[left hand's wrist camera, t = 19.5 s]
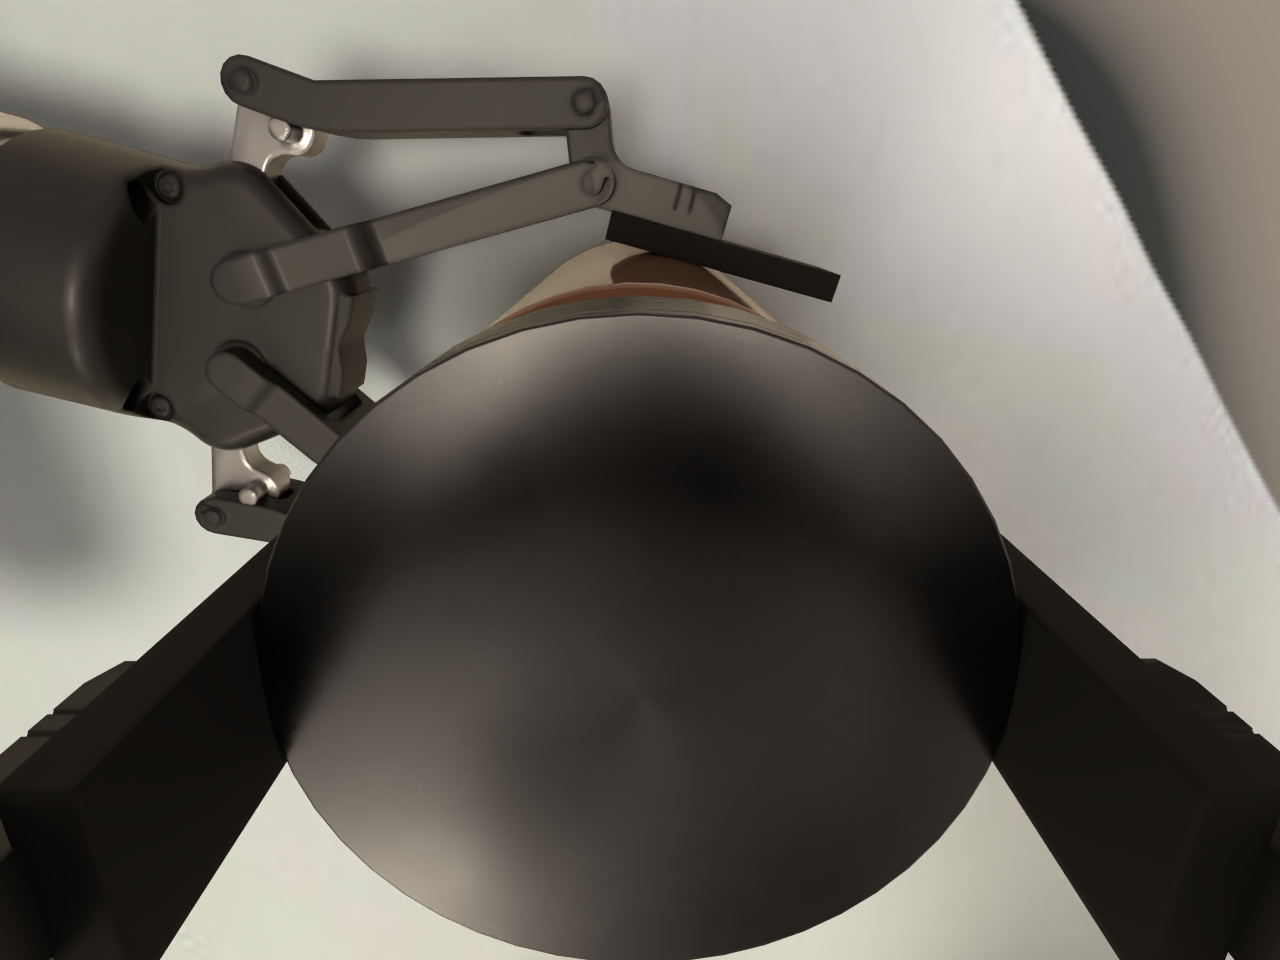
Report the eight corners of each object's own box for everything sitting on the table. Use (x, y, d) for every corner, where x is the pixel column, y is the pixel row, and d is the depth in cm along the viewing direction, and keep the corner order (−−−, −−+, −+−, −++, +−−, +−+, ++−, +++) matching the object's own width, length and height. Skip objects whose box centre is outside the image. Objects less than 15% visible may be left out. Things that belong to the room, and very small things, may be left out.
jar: (808, 317, 28) (1020, 463, 13) (685, 523, 31) (732, 845, 16) (579, 190, 27) (497, 176, 11) (473, 420, 30) (290, 665, 14)
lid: (284, 804, 14) (229, 896, 12) (359, 204, 10) (298, 203, 8) (832, 913, 14) (859, 1013, 13) (1079, 402, 11) (1165, 439, 9)
